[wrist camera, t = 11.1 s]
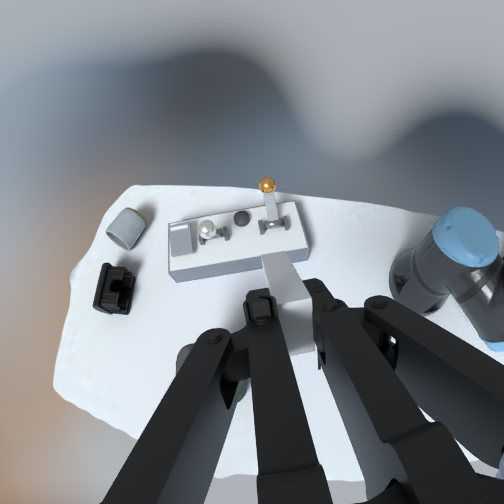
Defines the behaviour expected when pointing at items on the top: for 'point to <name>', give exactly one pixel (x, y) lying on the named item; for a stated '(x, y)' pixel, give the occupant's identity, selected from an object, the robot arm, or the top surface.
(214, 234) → the silver ball lever
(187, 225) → the rocker grey
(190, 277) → the console
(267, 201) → the lever orange
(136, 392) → the top surface
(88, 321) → the top surface
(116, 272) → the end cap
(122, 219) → the ceramic mug
